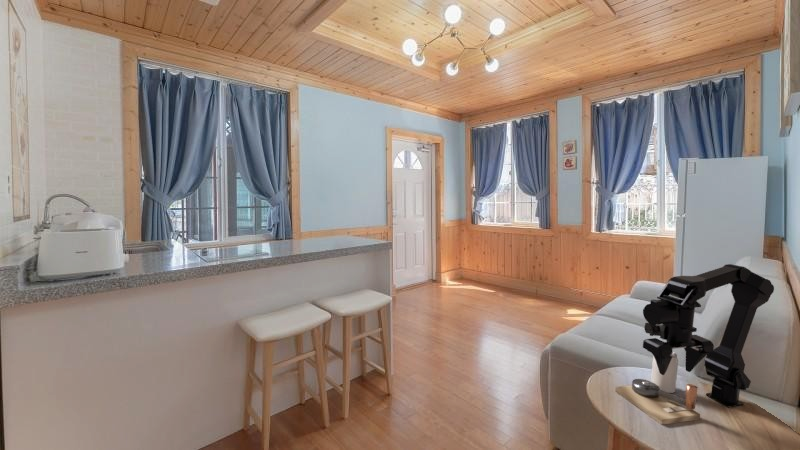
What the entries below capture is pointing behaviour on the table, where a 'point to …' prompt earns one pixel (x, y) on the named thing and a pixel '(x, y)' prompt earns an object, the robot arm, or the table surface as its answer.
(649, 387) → the lever
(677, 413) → the stand
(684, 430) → the table surface
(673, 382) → the can
